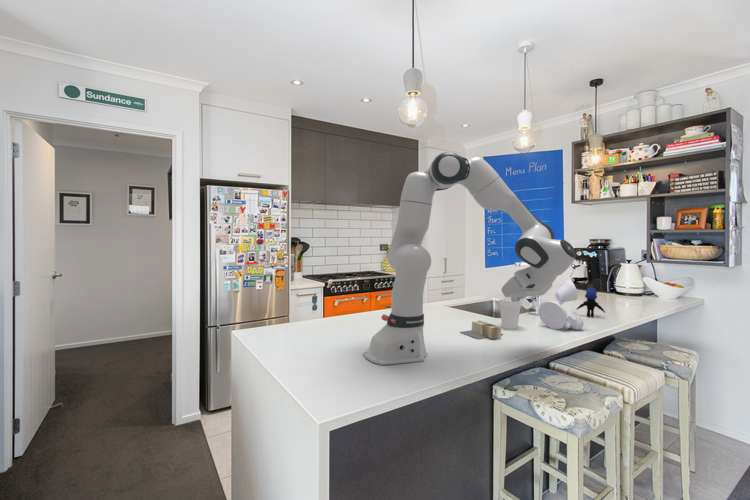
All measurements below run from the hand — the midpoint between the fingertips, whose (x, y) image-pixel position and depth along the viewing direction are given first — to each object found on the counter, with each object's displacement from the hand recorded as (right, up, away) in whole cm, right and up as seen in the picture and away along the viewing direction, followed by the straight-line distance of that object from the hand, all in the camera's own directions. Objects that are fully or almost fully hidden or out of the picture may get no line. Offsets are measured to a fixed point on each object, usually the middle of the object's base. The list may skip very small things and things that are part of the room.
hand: (514, 300), depth 142 cm
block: (-3, -14, +10) cm, 18 cm away
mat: (-7, -17, +17) cm, 25 cm away
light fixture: (+31, -16, +31) cm, 47 cm away
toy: (+58, -16, +51) cm, 79 cm away
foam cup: (+8, -16, +28) cm, 34 cm away
